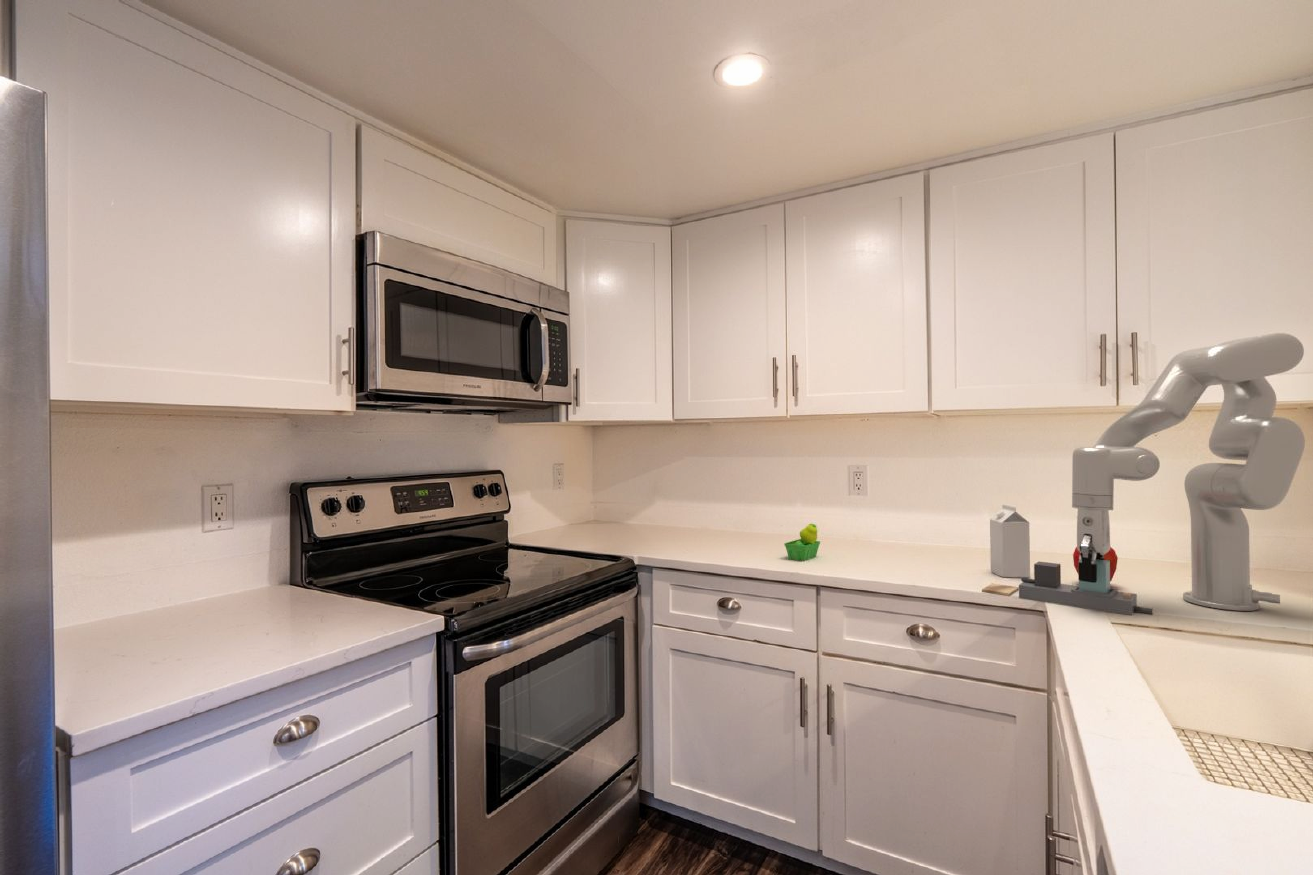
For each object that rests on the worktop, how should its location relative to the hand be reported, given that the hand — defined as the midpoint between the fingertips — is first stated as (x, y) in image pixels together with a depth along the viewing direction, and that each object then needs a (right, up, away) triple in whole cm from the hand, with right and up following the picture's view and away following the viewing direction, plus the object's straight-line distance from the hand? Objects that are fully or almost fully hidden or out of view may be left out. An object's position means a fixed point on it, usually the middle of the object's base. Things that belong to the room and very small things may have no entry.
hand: (1091, 577), depth 133 cm
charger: (+1, -3, 0) cm, 3 cm away
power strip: (-1, -6, +2) cm, 6 cm away
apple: (+13, -6, +17) cm, 22 cm away
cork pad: (-13, -6, +14) cm, 20 cm away
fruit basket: (-51, -7, +56) cm, 76 cm away
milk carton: (-1, -6, +30) cm, 30 cm away
